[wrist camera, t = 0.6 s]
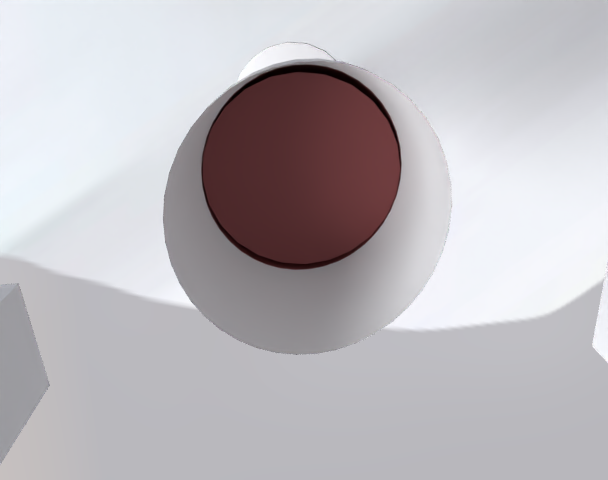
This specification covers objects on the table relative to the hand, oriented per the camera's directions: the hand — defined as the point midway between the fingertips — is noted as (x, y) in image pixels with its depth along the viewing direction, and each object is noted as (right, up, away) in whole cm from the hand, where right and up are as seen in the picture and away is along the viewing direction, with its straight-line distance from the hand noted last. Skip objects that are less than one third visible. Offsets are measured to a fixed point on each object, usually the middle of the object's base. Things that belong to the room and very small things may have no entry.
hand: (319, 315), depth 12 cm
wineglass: (-1, +11, +26) cm, 29 cm away
